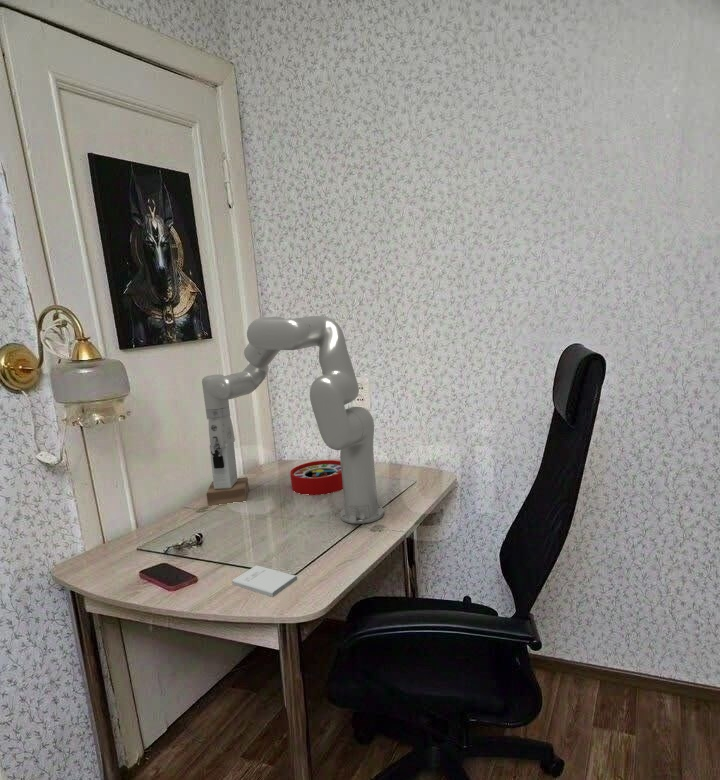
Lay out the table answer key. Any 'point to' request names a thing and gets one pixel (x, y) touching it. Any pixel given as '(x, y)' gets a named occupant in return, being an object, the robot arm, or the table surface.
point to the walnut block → (228, 493)
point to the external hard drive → (264, 580)
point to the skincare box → (225, 469)
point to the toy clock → (317, 477)
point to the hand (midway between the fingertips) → (224, 463)
